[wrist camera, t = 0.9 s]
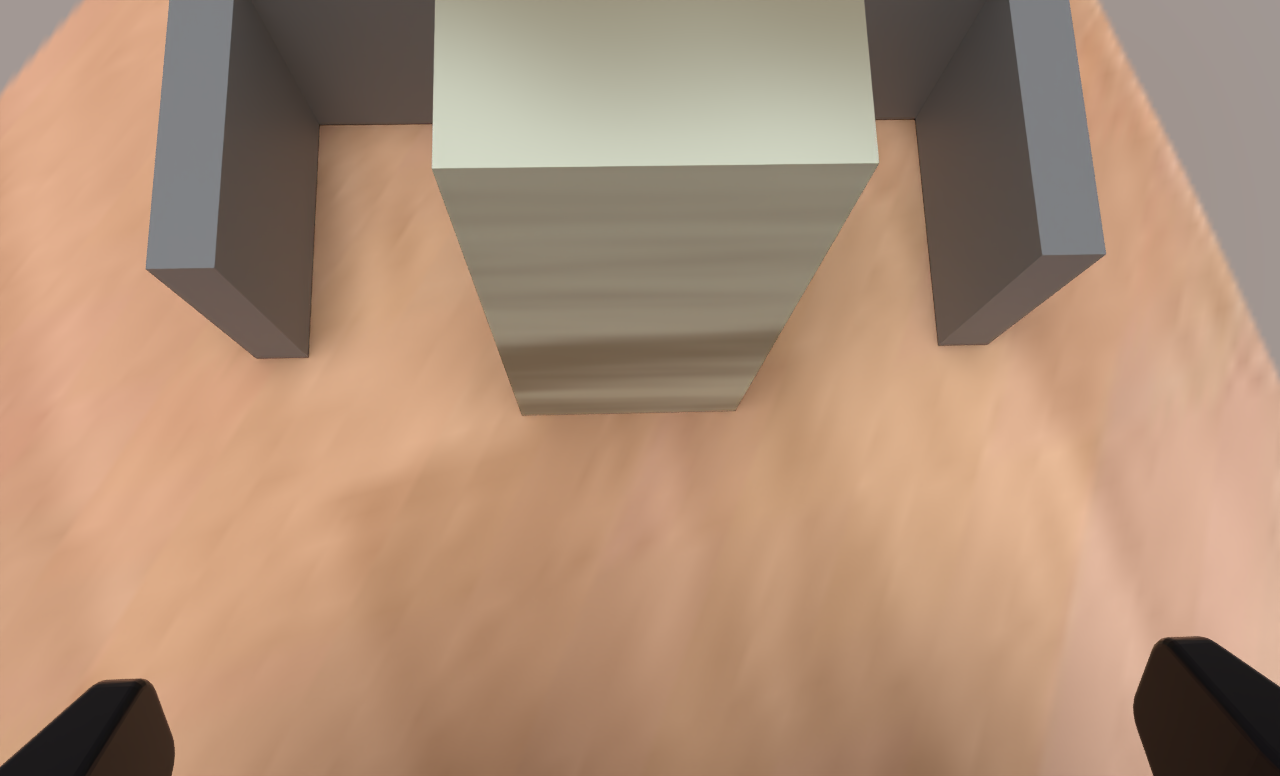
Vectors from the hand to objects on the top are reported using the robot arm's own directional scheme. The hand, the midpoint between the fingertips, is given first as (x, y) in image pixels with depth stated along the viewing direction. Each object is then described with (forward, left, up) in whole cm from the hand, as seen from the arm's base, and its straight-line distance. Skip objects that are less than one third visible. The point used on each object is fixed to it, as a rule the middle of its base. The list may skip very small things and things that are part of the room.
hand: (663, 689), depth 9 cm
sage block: (+8, -3, -14) cm, 16 cm away
